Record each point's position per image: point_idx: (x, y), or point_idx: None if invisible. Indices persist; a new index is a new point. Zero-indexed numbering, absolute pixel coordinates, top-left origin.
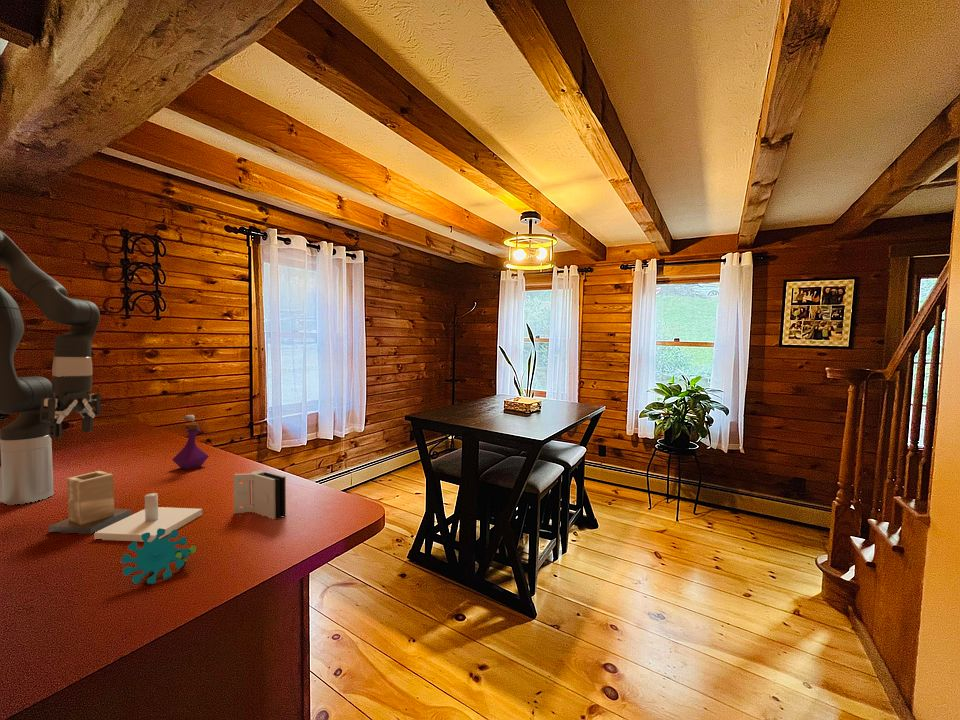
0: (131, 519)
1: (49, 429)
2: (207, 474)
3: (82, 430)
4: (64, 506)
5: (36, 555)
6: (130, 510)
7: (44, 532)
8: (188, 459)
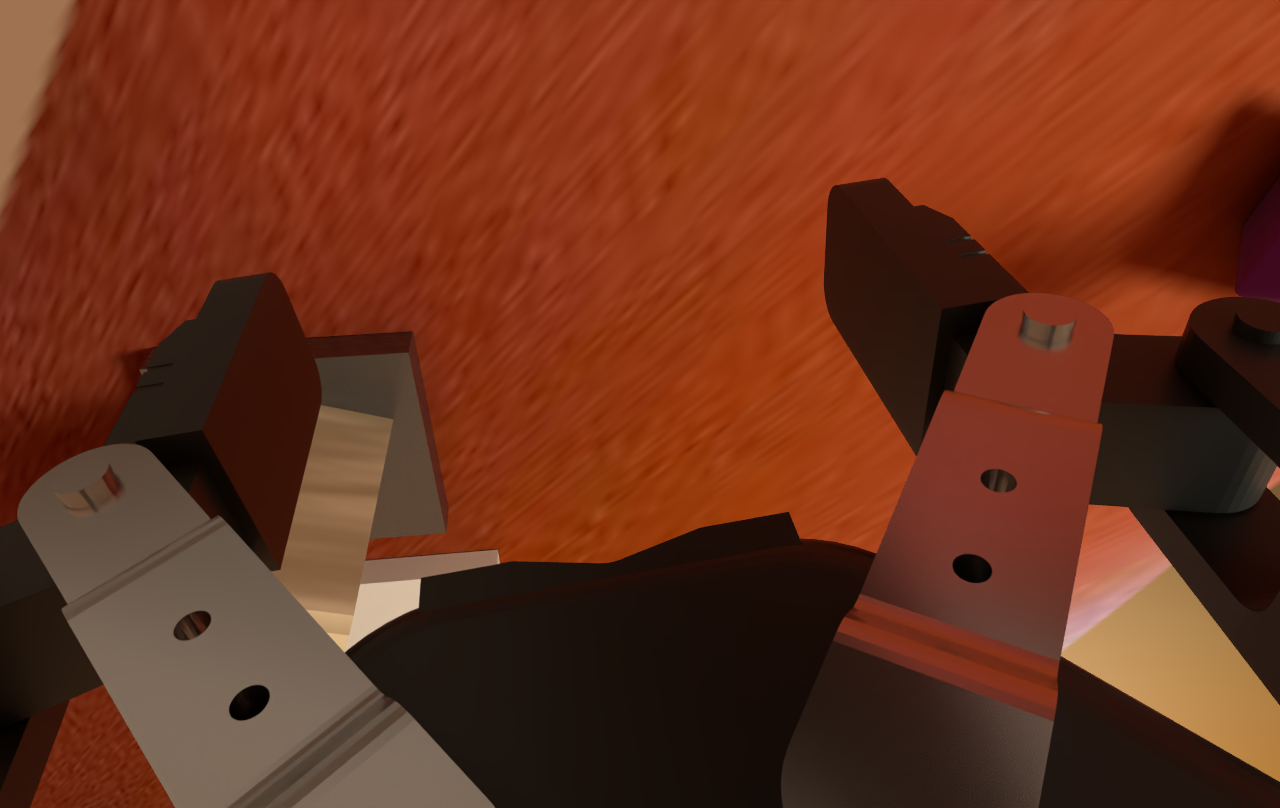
0: (354, 613)
1: (130, 411)
2: None
3: (837, 200)
4: (461, 13)
5: (5, 510)
6: (442, 530)
7: (144, 320)
8: (1265, 297)
